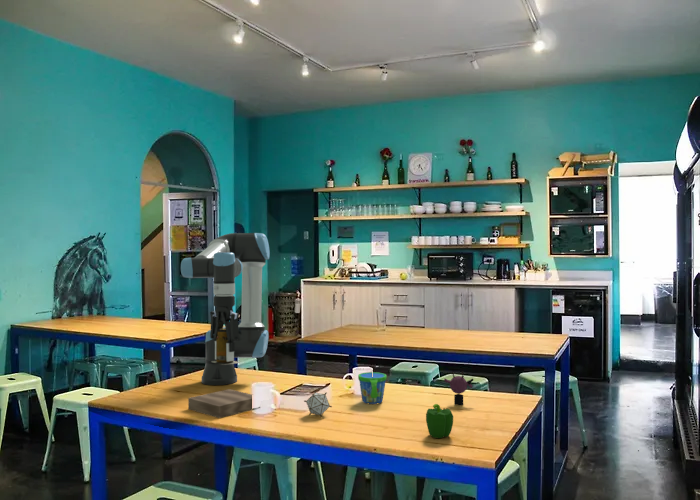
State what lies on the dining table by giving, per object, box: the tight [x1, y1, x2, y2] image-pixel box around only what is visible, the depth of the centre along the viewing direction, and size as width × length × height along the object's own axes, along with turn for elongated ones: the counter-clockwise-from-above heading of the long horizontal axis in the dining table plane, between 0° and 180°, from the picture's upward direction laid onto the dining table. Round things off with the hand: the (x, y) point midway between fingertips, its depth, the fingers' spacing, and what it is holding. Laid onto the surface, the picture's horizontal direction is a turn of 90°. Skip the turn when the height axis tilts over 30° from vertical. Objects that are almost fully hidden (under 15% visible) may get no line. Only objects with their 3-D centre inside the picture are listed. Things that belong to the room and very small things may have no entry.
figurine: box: [443, 371, 474, 406], centre depth 217 cm, size 8×8×12 cm
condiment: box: [212, 328, 241, 365], centre depth 212 cm, size 7×8×12 cm
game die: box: [303, 390, 333, 418], centre depth 202 cm, size 9×8×10 cm
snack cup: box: [357, 371, 387, 405], centre depth 220 cm, size 16×10×10 cm
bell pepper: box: [425, 403, 454, 439], centre depth 179 cm, size 8×8×10 cm
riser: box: [187, 388, 253, 419], centre depth 212 cm, size 18×18×4 cm
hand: (224, 359), depth 212 cm, fingers closed on condiment, 6 cm apart
